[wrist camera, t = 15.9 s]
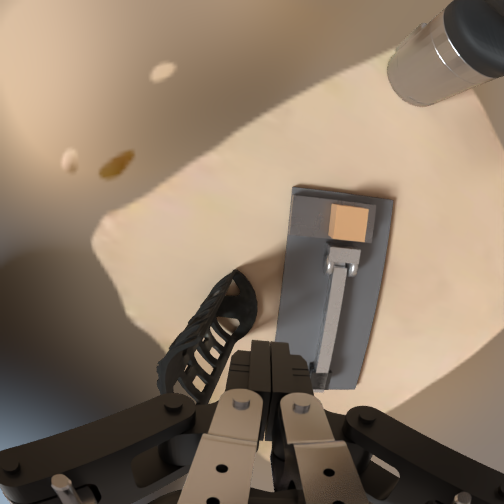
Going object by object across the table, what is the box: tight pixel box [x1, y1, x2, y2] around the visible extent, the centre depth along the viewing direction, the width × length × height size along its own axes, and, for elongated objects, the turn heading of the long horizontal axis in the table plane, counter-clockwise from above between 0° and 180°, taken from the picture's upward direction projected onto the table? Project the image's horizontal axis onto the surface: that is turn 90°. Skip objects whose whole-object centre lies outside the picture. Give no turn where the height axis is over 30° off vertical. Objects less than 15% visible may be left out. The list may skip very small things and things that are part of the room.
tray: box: [275, 187, 393, 390], centre depth 44 cm, size 30×14×1 cm, turn 175°
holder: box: [157, 269, 257, 405], centre depth 36 cm, size 11×8×20 cm
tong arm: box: [310, 266, 347, 392], centre depth 42 cm, size 19×3×1 cm, turn 175°
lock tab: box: [328, 204, 369, 242], centre depth 38 cm, size 4×4×3 cm
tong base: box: [289, 195, 376, 374], centre depth 42 cm, size 27×11×3 cm, turn 175°
